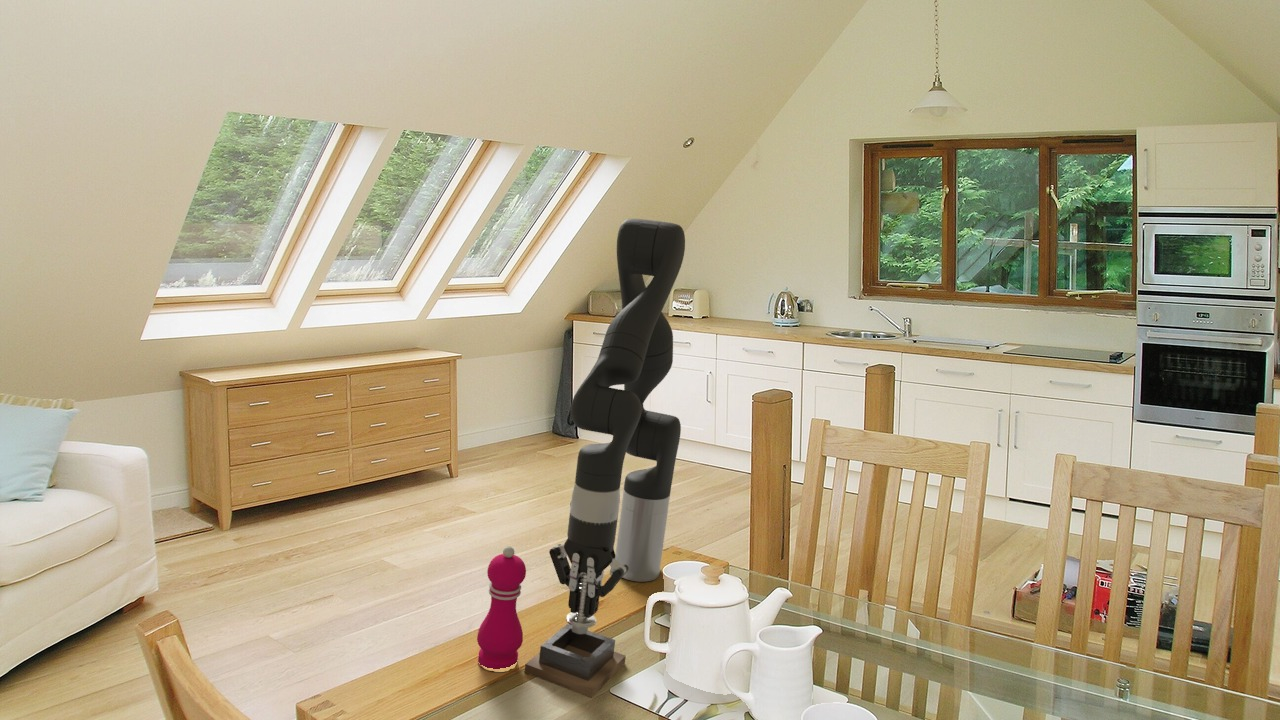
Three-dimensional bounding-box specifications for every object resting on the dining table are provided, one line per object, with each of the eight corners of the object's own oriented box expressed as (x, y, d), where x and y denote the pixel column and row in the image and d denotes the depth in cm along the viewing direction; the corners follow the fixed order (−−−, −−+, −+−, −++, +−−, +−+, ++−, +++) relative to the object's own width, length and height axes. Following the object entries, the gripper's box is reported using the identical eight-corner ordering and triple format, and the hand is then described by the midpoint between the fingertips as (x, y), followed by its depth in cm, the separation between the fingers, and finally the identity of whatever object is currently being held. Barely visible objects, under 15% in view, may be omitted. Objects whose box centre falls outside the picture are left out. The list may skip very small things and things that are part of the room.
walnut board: (561, 641, 163) (562, 633, 163) (624, 663, 158) (625, 655, 158) (524, 672, 152) (525, 663, 152) (591, 697, 148) (592, 688, 147)
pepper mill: (516, 677, 151) (529, 559, 146) (470, 671, 151) (482, 553, 146) (523, 653, 158) (535, 540, 153) (479, 648, 158) (490, 534, 153)
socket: (565, 639, 161) (567, 623, 160) (613, 656, 157) (615, 640, 157) (538, 662, 153) (540, 645, 152) (588, 681, 149) (590, 663, 149)
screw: (576, 619, 157) (600, 630, 155) (558, 630, 153) (582, 641, 151) (586, 546, 154) (610, 556, 152) (567, 554, 150) (592, 565, 148)
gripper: (644, 516, 150) (630, 617, 154) (567, 494, 156) (555, 592, 159) (623, 530, 144) (610, 636, 147) (543, 507, 149) (532, 609, 153)
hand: (582, 612), depth 153 cm, fingers closed on screw, 2 cm apart
